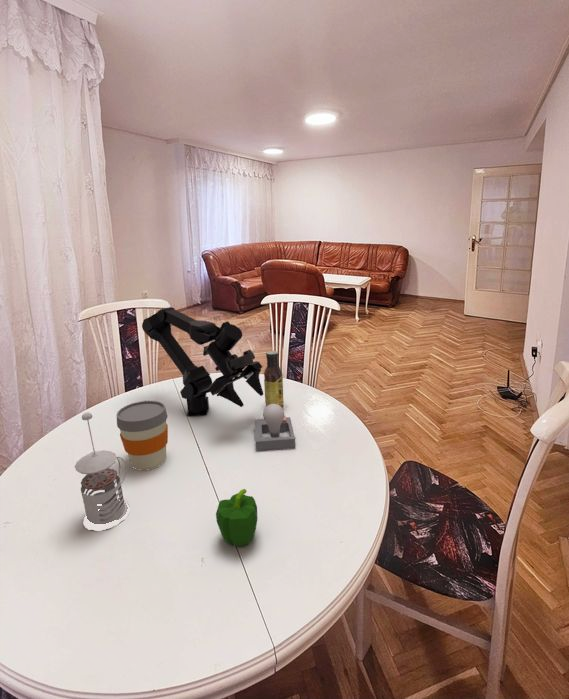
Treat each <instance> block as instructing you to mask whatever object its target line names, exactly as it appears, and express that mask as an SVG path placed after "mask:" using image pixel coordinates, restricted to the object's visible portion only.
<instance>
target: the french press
mask: <svg viewBox="0 0 569 699" xmlns="http://www.w3.org/2000/svg"><path fill="white" fill-rule="evenodd" d="M92 418H93V414H92V413H91V412H90V411H89V412H84V413H83V414H82V415H81V420H83V421H87V425H88V431H89V435H90V436H89V437H90V439H91V440H90V441H91V444H92V452H89V453H87V454H86V455H84V456H82V457H80V459H79V460H77V461H76V463H75V465H74V469H75V471H76V472H78V473H79V474H82V475H85V476H84V477H83V478H82V480H81V481H80V485H81V487H80V493H81V497H82V502H83V506H84V510H85V515H86V516H87V519H88V520H89V521H90V522H92V523H94V524H106V523H109V522H112V521H114V520H119V519H121V518H122V517H123V516H124V515H125V514H126V512H127V509H128V507H127V505H126V503H127V502H125V499H124V494H123V488H122V484H123V483H124V480H125V478H126V477H127V476H126V474H127V466H126V461H125V460H124V458H123V457H120V456H117V454H116V453H115V452H113V451H111V450H105V449H104V450H97V451H95V447H94V441H93V437H92V436H93V435H92V432H91V427H90V421H89V420H91V419H92ZM120 460H121V461H122V462H123V464H124V475H123V478H122V480H121V478H120V474H121V462H120ZM116 461H117V462H118V467H119V468H118V472H117V470H116V469H114V468H112V466H113V465H114V464H116ZM115 484H116V485H115ZM90 490H91V491H90ZM99 491H100V492H99ZM117 491H118V492H117ZM94 492H96V493H94ZM93 493H94V494H93ZM119 500H120V501H119ZM124 502H125V503H124ZM97 504H102V506H97ZM98 509H100V510H99V511H98Z"/></svg>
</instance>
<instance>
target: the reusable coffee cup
mask: <svg viewBox="0 0 569 699" xmlns="http://www.w3.org/2000/svg"><path fill="white" fill-rule="evenodd" d="M167 419H168V413H167V408H166V405H165V404H164V403H163V402H161V401H157V400H143V401H142V400H141V401H136V402H133V403H130V404H127V405H125V406H123V407H121V408H120V409H119V410H118V411H117V413H116V426H117V428H118V429H119V431H120V433H119V436H120V440H121V443H122V446H123V448H124V451H125V453H126V454H127V455H128V458H129V461H130V465H131V467H132V466H133V467H134V468H136V469H135V470H137V469H141V470H140V471H148V470H147V469H150V470H153V469H152V468H154V469H156V468H159V465H160V466H161V465H163V464H164V463H165V462H166V460H167V445H168V442H169V441H168V437H169V429H168V427H169V426H168V423H167ZM165 459H166V460H165ZM164 461H165V462H164ZM163 462H164V463H163ZM162 463H163V464H162ZM133 467H132V468H133ZM155 467H156V468H155ZM134 468H133V469H134Z"/></svg>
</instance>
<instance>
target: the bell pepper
mask: <svg viewBox="0 0 569 699" xmlns="http://www.w3.org/2000/svg"><path fill="white" fill-rule="evenodd" d="M246 493H247V489H246V488H242V489H241V490H239V491H238V493H235V494H233V495H231V497H230V499H222V500H220V501H219V503H218V506H217V510H216V512H215V518H216V524H217V526H218V529H219V531H220V534H221V536H222V539H223V541H225V542H226V543H227V544H229V545H232V544H233V545H234V546H236V547H240V548H241V547H245V546H247V545H249V544H250V543H251V542H252V541H253V540H254V537H255V533H256V529H257V524H258V506H257V503H256V500H255V498H254V497H253V496H250V495H246Z"/></svg>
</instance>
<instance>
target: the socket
mask: <svg viewBox="0 0 569 699" xmlns="http://www.w3.org/2000/svg"><path fill="white" fill-rule="evenodd" d="M279 433H288V436H279V437H275V438H271V437H263V435H264V434H270V431H269V427H268V425H267V423H266V422H265V420H264V418H260V419H254V438H255V452H261V451H262V452H264V451H276V450H278V451H279V450H287V449H289V450H290V449H296V437H295V433H294V427H293V423H292V420H291V417H290V416H287V417H286V415H284V418H283V421H282V423H281V425H280V431H279Z"/></svg>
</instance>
